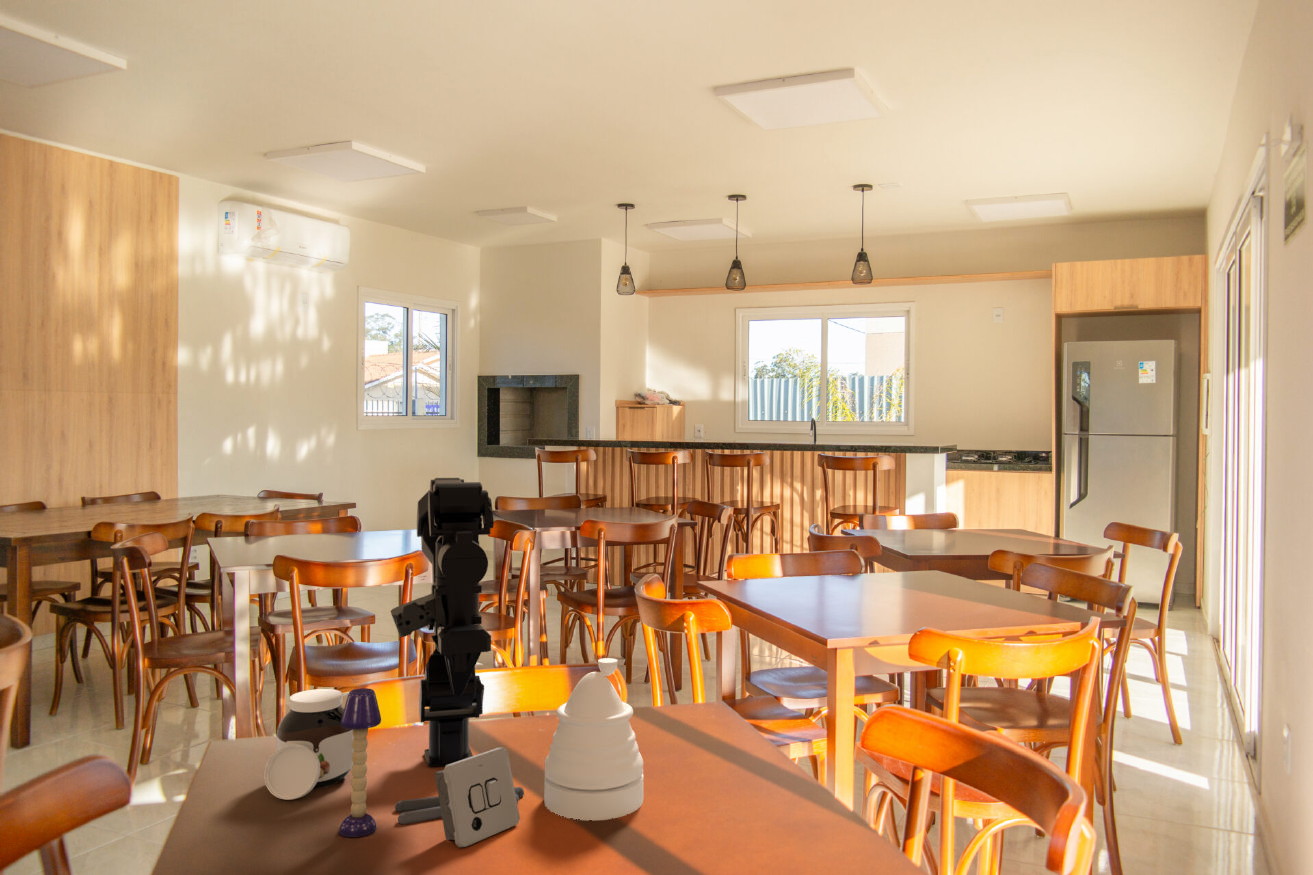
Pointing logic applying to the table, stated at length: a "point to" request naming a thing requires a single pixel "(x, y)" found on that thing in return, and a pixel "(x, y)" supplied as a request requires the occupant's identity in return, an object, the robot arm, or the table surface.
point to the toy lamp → (359, 758)
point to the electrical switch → (477, 797)
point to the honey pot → (594, 753)
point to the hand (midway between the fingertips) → (456, 692)
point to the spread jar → (310, 745)
